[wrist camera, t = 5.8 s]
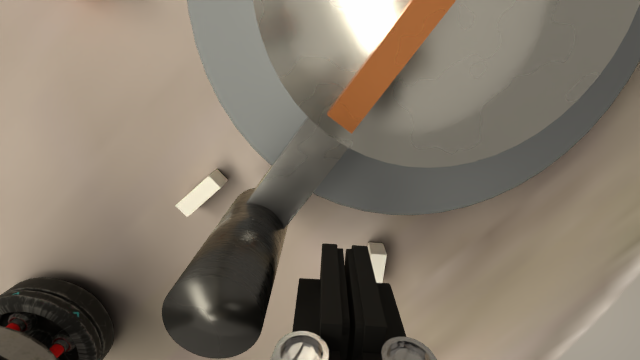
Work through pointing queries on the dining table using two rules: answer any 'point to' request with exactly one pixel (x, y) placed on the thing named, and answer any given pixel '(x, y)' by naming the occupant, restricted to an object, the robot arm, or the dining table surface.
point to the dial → (387, 119)
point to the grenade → (53, 322)
